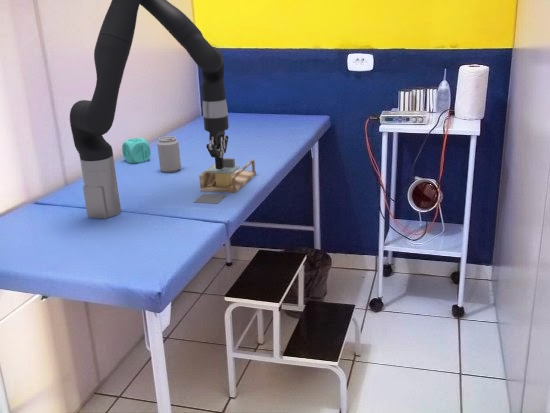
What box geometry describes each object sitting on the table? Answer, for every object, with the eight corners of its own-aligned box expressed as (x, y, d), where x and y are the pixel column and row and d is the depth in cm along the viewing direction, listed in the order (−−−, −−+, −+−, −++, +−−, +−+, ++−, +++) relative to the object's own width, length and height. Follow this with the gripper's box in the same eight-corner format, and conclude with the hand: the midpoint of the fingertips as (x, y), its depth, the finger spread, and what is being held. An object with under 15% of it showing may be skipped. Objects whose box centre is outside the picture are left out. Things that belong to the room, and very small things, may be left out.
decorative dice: (132, 164, 227) (130, 144, 224) (123, 160, 233) (120, 140, 230) (151, 160, 232) (149, 140, 229) (142, 156, 238) (139, 136, 235)
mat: (217, 205, 181) (217, 203, 180) (193, 203, 183) (192, 202, 183) (227, 196, 188) (227, 194, 188) (203, 195, 190) (203, 193, 190)
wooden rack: (236, 194, 190) (234, 177, 188) (200, 192, 193) (199, 175, 191) (256, 175, 207) (255, 159, 205) (223, 173, 211) (222, 158, 209)
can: (177, 173, 214) (173, 140, 210) (157, 173, 215) (153, 140, 211) (184, 167, 221) (180, 135, 217) (164, 167, 222) (161, 135, 218)
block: (227, 188, 194) (226, 173, 192) (216, 188, 195) (215, 173, 193) (232, 184, 197) (231, 170, 195) (220, 184, 198) (219, 169, 197)
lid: (232, 173, 190) (231, 164, 189) (206, 172, 192) (205, 163, 191) (239, 167, 196) (238, 158, 195) (214, 166, 198) (213, 157, 197)
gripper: (218, 119, 178) (223, 175, 184) (234, 110, 190) (238, 163, 196) (195, 118, 180) (200, 174, 186) (212, 109, 192) (216, 162, 198)
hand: (219, 168), depth 191 cm, fingers closed
